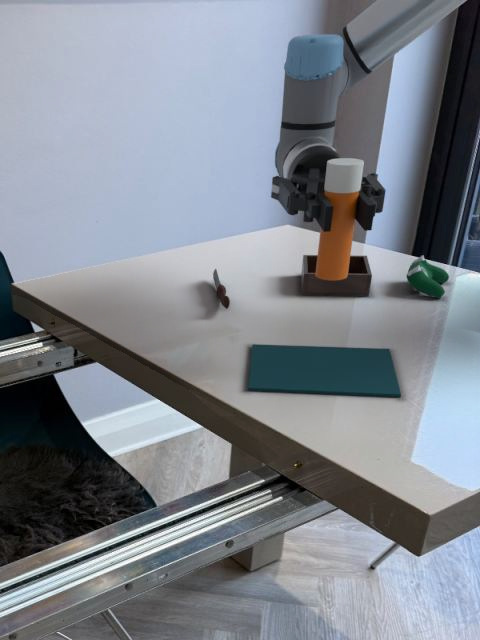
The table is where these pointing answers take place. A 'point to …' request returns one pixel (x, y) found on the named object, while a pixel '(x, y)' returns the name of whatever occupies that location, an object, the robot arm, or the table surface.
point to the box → (349, 286)
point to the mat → (323, 370)
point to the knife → (220, 291)
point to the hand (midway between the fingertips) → (349, 218)
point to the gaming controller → (427, 278)
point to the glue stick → (339, 217)
